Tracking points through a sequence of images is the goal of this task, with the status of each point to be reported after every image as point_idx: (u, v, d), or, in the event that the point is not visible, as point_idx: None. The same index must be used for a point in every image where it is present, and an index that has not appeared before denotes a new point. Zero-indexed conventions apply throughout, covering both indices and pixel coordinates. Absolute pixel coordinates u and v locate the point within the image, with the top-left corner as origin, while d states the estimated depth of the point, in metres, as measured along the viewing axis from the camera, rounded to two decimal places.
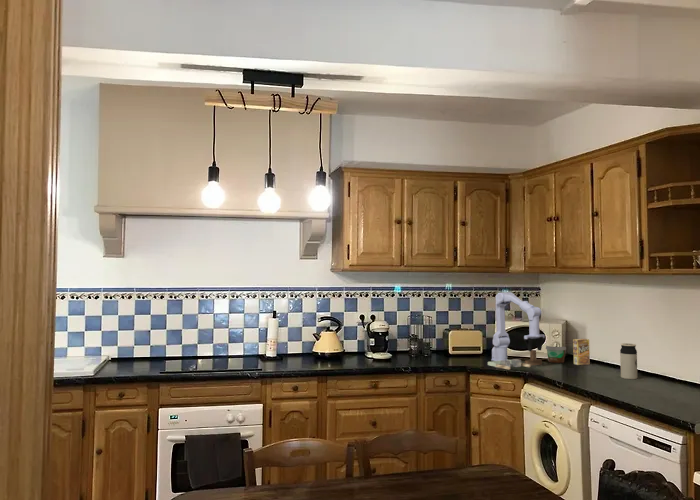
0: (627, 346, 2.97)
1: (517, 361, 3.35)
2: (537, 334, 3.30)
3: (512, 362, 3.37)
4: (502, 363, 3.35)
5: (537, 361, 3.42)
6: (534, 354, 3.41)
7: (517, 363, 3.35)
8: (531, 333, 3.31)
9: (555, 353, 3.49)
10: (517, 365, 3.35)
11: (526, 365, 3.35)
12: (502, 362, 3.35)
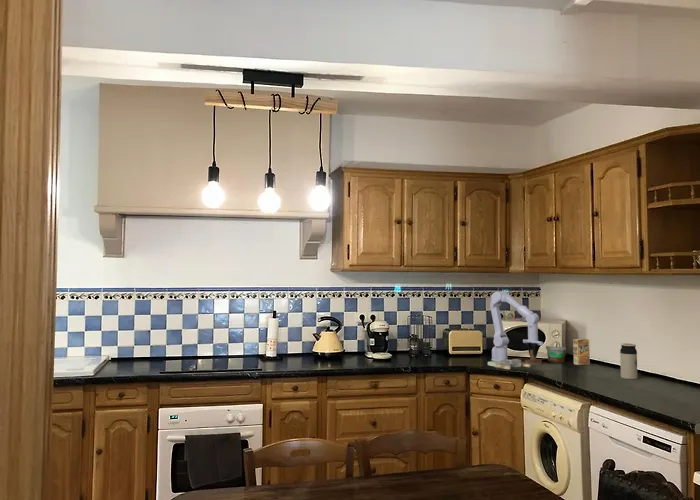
0: (627, 346, 2.97)
1: (517, 361, 3.35)
2: (529, 339, 3.41)
3: (512, 362, 3.37)
4: (502, 363, 3.35)
5: (537, 361, 3.42)
6: None
7: (517, 363, 3.35)
8: None
9: (555, 353, 3.49)
10: (517, 365, 3.35)
11: (526, 365, 3.35)
12: (502, 362, 3.35)
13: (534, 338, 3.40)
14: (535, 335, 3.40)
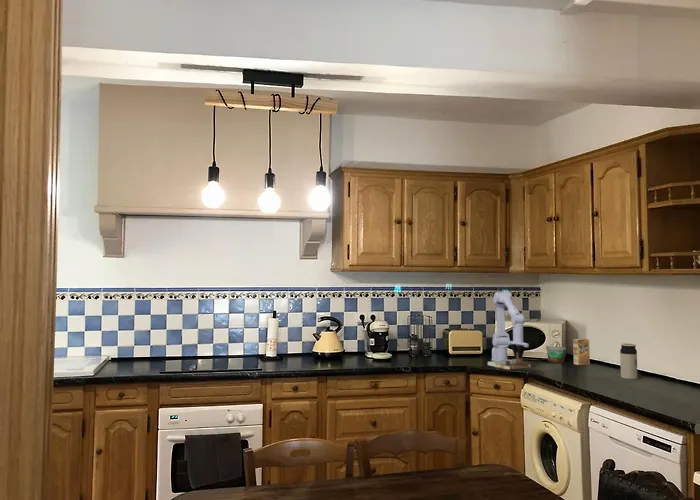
0: (627, 346, 2.97)
1: None
2: (514, 341, 3.31)
3: (512, 362, 3.37)
4: (502, 363, 3.35)
5: (523, 364, 3.32)
6: None
7: None
8: None
9: (555, 353, 3.49)
10: None
11: None
12: (502, 362, 3.35)
13: (519, 340, 3.29)
14: (520, 336, 3.29)
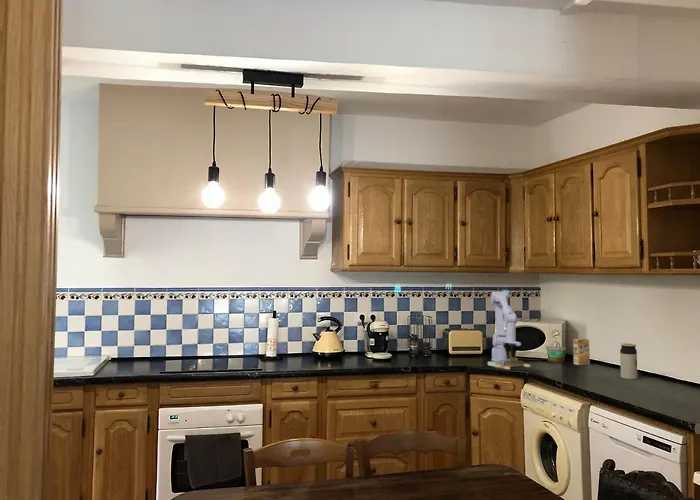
0: (627, 346, 2.97)
1: None
2: (506, 340, 3.36)
3: (509, 361, 3.41)
4: (500, 363, 3.36)
5: (517, 362, 3.36)
6: None
7: None
8: None
9: (555, 353, 3.49)
10: None
11: (526, 365, 3.35)
12: (500, 362, 3.36)
13: (512, 338, 3.34)
14: (513, 335, 3.34)
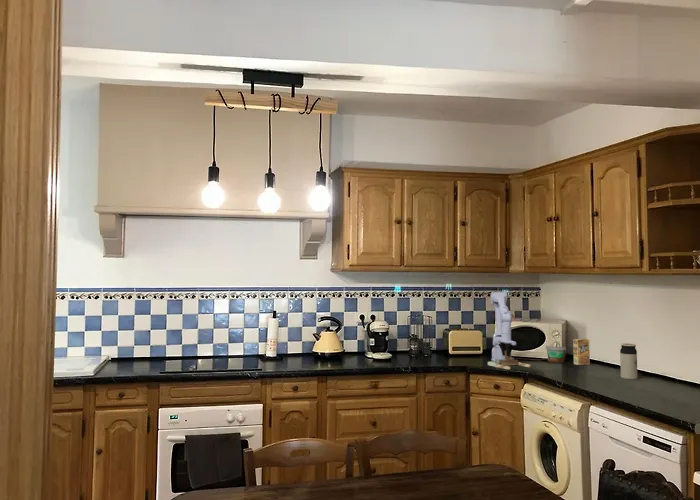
0: (627, 346, 2.97)
1: None
2: (502, 339, 3.39)
3: (505, 360, 3.44)
4: (496, 362, 3.40)
5: (513, 361, 3.39)
6: None
7: None
8: None
9: (555, 353, 3.49)
10: None
11: (526, 365, 3.35)
12: (496, 361, 3.40)
13: (507, 338, 3.38)
14: (508, 335, 3.38)
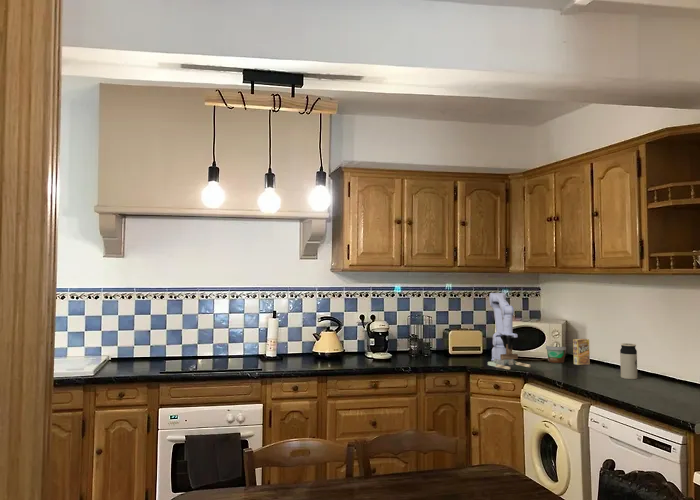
0: (627, 346, 2.97)
1: (509, 359, 3.42)
2: (503, 332, 3.40)
3: (505, 360, 3.44)
4: (495, 362, 3.40)
5: (513, 355, 3.41)
6: None
7: (509, 361, 3.42)
8: None
9: (555, 353, 3.49)
10: (509, 363, 3.42)
11: (526, 365, 3.35)
12: (495, 361, 3.40)
13: (509, 330, 3.38)
14: (510, 327, 3.38)
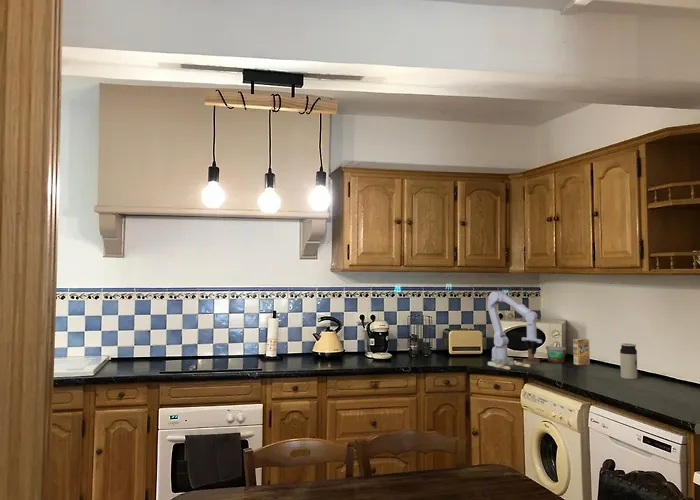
0: (627, 346, 2.97)
1: (510, 359, 3.42)
2: (527, 337, 3.44)
3: (505, 360, 3.44)
4: (495, 362, 3.40)
5: (535, 360, 3.44)
6: None
7: (509, 361, 3.42)
8: None
9: (555, 353, 3.49)
10: (509, 363, 3.42)
11: (526, 365, 3.35)
12: (495, 361, 3.40)
13: (533, 336, 3.42)
14: (534, 333, 3.42)
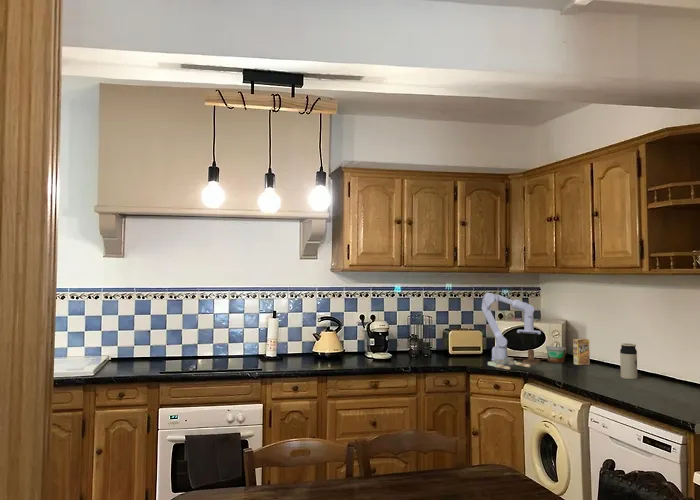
0: (627, 346, 2.97)
1: (510, 359, 3.42)
2: (526, 329, 3.53)
3: (505, 360, 3.44)
4: (495, 362, 3.40)
5: (535, 361, 3.44)
6: (532, 354, 3.43)
7: (509, 361, 3.42)
8: None
9: (555, 353, 3.49)
10: (510, 363, 3.42)
11: (526, 365, 3.35)
12: (495, 361, 3.40)
13: (532, 328, 3.52)
14: (532, 325, 3.53)
